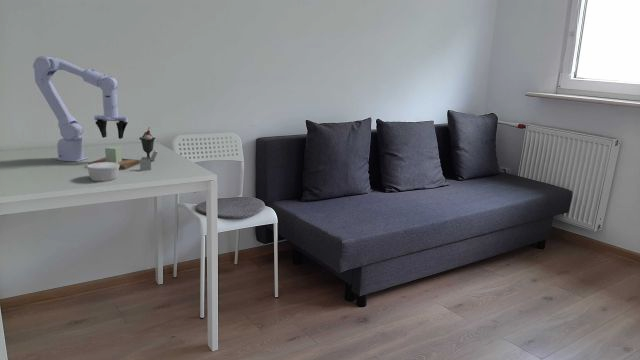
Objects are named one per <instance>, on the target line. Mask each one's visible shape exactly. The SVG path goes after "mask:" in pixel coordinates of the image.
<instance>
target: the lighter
mask: <svg viewBox="0 0 640 360" xmlns="http://www.w3.org/2000/svg"><path fill="white" fill-rule="evenodd" d="M153 150H154V151H152V154H151V156H150V158H151V159H148V157H147V156H142V157H141V158H140V159H139V160H140V163H139V168H140V169H139V170H140V171H151V170H152V164H151V163H152V162H154V161H155V159H156V158H157V155H158V153H159V151H158V150H156V149H153ZM151 160H153V161H152V162H151Z"/></svg>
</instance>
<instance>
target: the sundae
mask: <svg viewBox="0 0 640 360" xmlns="http://www.w3.org/2000/svg"><path fill="white" fill-rule="evenodd" d="M138 139H139V140H140V141H141V145H142V146H141V147H142V150H143V151H144V152H145V153H146V157H148V159H151V155H150V154H151V152H153V150H154V144H155V143H154V142H155V140H156V137H154V136H153V134H152V132H151V130H150V127H149V126H148V128H147V131H145V132H143V135H142V136H140V137H139V138H138ZM152 162H154V161H153V160H151V163H152Z"/></svg>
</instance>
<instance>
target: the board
mask: <svg viewBox="0 0 640 360" xmlns="http://www.w3.org/2000/svg"><path fill="white" fill-rule="evenodd" d="M100 162H106V156H105V157H102V158H99V159H96V160H93V161H91V162H88V163H87V164H88V165H89V164H93V163H100ZM118 164H119V165H120V167H119V170H127V169H130V168H132V167H135V166H137V165H140V159H132V158H130V159H129V158H122V161H120V162H118ZM88 165H87V166H88Z"/></svg>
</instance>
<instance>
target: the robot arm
mask: <svg viewBox="0 0 640 360" xmlns="http://www.w3.org/2000/svg"><path fill="white" fill-rule="evenodd" d="M32 68H33V70H34V81H35V84H36V85H37V87H38V88H39V90H40V92H41V94H42V95H43V97H44V99H45V101H46V102H47V105H49V107H50V109H51V111H52V112H53V114H54V116H55V118H56V119H57V121H58V123H57V126H58V128H59V131H60V132H59V133H60V136H61V137H62V138H60V139H59V140H58V141H57V145H56V146H57V147H56V149H57V157H58V158H57V159H56V161H64V162H65V161H66V162H76V163H77V162H78V163H79V162H81V161H84V160H86V159H88V158H89V157H88V156H84V146H83V144H84V143H83V137H82V135H83V133H84V127H83V125H82V124H81V123H79V121H77V119H76V118H75V117H74V116H73V115H71V113H70V112H69V110H68V108H67V106H66V105H65V103H64V101H63V100H62V97H61V96H60V94H59V92H58V91H57V89H56V87H55V85H53V83H52V79H53V76H54V74H56V72H57V71H65V72H68V73H70V74H72V75H75V76H78V77H81V78H82V79H83V80H82V81H83V82H85V83H87V84H90V85H92V86H93V87H94V86H95V87H96V88H100V90H102V107H103V115H102V114H101V115H100V114H99V115H93V118H94V121H95V125H96V126H97V128H98V130H99V131H100V135H101V137H102V138H107V125H108V121H109V122H115V125H116V127H117V134H118V135H117V136H118V139H120V140H121V139H123V138H124V133H125V130H126V127H127V125H128V123H129V117H128V116H120V115H119V103H118V91H117V89H118V86H119V82H118V80H117V79H116V78H115V77H113V76H108V74H105V73H101V72H99V71H97V69H95V68H88V69H83V68H82V67H80V66H77V65H76V64H74V63H71V62H68V61H67V60H64V59H62V58H59V57H55V56H54V55H49V56H42V55H41V56H37V57H36V58H35V60H34V62H33V64H32Z"/></svg>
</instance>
